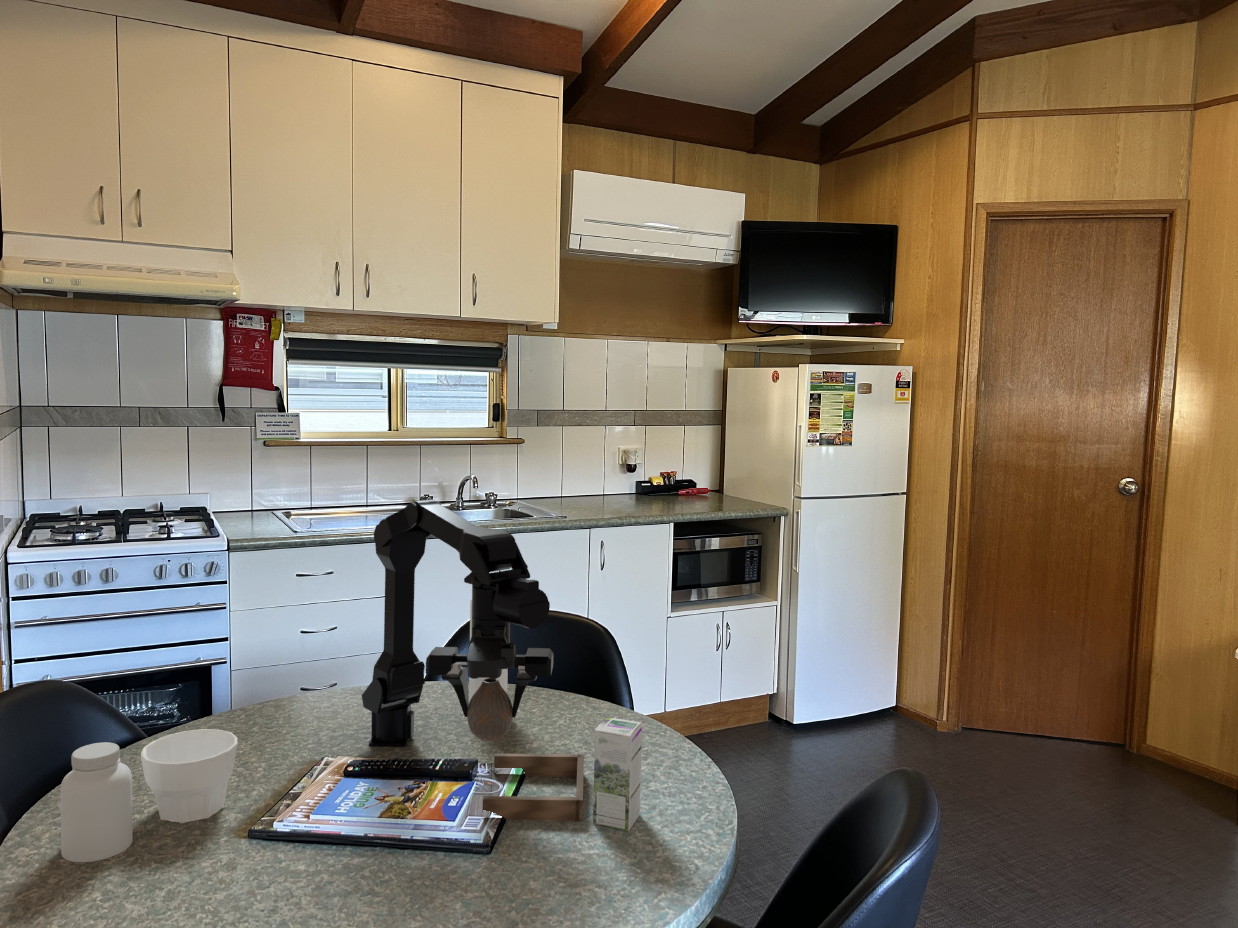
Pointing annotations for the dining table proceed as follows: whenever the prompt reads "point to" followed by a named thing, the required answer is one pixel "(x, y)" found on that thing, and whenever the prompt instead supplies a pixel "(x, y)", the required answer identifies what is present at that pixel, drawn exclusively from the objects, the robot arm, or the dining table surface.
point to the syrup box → (617, 773)
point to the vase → (490, 711)
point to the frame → (540, 805)
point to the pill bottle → (96, 804)
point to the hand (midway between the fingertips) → (490, 716)
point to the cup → (190, 772)
